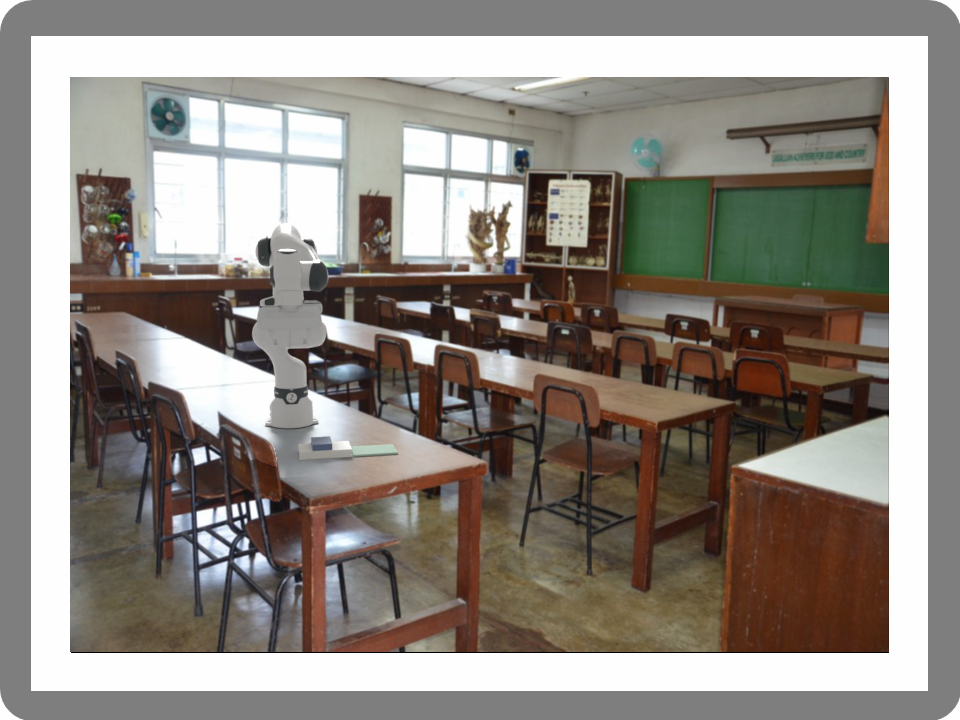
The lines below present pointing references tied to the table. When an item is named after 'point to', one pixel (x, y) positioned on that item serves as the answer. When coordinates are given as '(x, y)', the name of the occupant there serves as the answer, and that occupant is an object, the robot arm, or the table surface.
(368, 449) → the mat
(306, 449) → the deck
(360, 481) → the table surface
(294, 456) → the table surface
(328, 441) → the tile
